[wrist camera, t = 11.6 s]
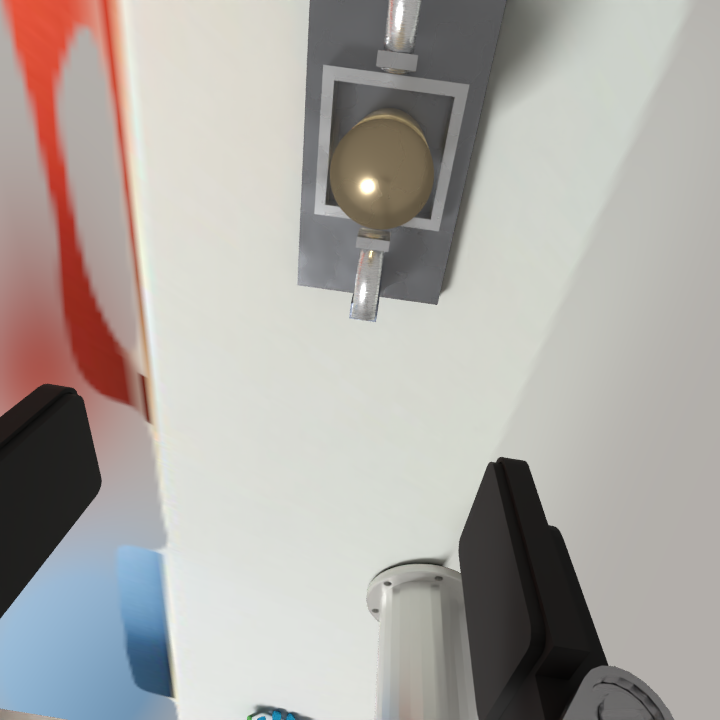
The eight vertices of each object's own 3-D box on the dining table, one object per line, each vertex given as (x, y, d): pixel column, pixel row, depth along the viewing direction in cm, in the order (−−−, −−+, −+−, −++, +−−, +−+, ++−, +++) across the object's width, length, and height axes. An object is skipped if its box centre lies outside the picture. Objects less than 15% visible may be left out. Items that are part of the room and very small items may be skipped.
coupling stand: (511, -40, 22) (545, -79, 17) (436, 297, 31) (442, 341, 26) (317, -65, 22) (288, -113, 17) (301, 278, 32) (279, 318, 26)
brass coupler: (418, 196, 27) (423, 235, 20) (346, 187, 27) (326, 222, 20) (433, 113, 25) (444, 126, 18) (353, 102, 25) (334, 111, 18)
